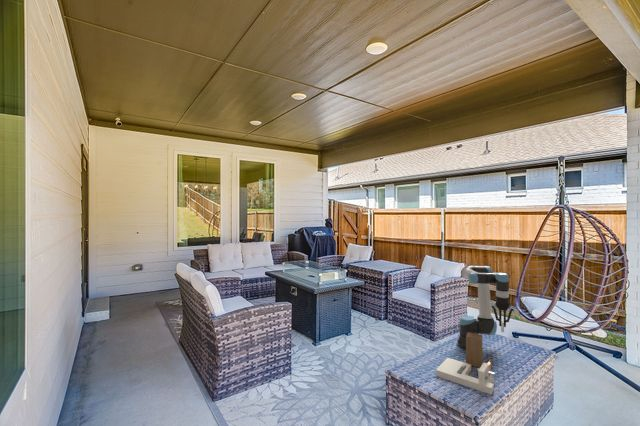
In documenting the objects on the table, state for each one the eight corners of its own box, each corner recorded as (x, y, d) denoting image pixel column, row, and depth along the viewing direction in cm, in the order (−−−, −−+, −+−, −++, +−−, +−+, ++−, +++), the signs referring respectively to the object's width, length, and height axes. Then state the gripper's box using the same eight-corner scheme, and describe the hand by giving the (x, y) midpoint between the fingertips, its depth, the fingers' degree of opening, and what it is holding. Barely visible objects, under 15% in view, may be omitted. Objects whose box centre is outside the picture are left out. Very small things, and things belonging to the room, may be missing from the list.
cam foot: (492, 387, 191) (492, 373, 191) (475, 382, 197) (475, 368, 197) (498, 375, 205) (498, 361, 205) (482, 370, 211) (482, 357, 211)
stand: (447, 363, 222) (447, 347, 222) (499, 379, 201) (499, 361, 201) (436, 375, 206) (436, 358, 206) (491, 394, 184) (491, 375, 184)
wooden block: (467, 358, 228) (467, 331, 228) (482, 361, 223) (482, 334, 223) (466, 364, 220) (465, 336, 220) (481, 368, 215) (481, 339, 214)
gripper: (490, 296, 207) (491, 331, 207) (513, 299, 199) (513, 335, 200) (491, 293, 213) (492, 327, 213) (514, 296, 206) (514, 331, 206)
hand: (502, 331), depth 207 cm, fingers closed
